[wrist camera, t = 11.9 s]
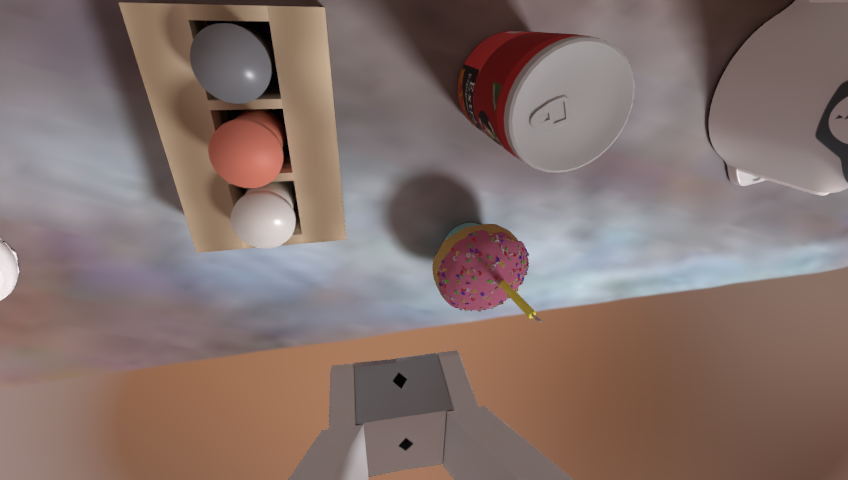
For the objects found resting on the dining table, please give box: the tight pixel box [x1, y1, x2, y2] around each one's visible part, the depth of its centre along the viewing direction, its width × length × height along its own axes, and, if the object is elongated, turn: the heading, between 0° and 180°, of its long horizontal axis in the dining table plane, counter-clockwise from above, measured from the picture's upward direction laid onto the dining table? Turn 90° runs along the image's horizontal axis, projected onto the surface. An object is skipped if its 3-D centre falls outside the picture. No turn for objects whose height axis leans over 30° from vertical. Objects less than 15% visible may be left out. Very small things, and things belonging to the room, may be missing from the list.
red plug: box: [208, 109, 286, 188], centre depth 26 cm, size 4×4×6 cm
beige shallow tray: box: [118, 2, 346, 253], centre depth 28 cm, size 11×16×4 cm
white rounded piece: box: [230, 181, 296, 248], centre depth 30 cm, size 4×4×6 cm
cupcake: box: [433, 223, 541, 322], centre depth 34 cm, size 9×8×12 cm
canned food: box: [458, 31, 635, 173], centre depth 27 cm, size 8×8×11 cm
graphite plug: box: [190, 23, 276, 104], centre depth 25 cm, size 4×4×6 cm
